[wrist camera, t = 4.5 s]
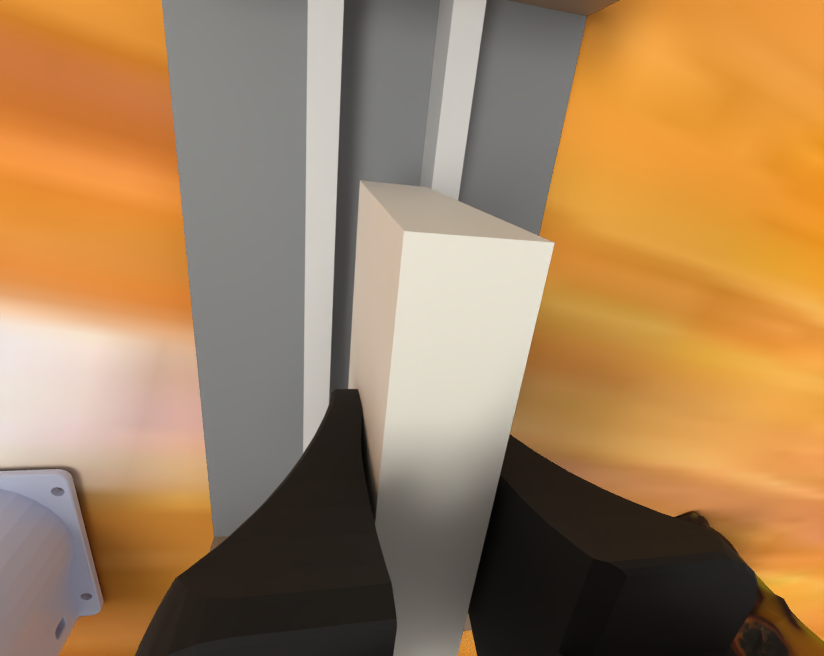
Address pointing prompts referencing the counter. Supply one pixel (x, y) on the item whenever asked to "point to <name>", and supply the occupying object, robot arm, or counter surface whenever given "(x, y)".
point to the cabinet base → (335, 182)
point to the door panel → (437, 389)
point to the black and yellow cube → (768, 621)
